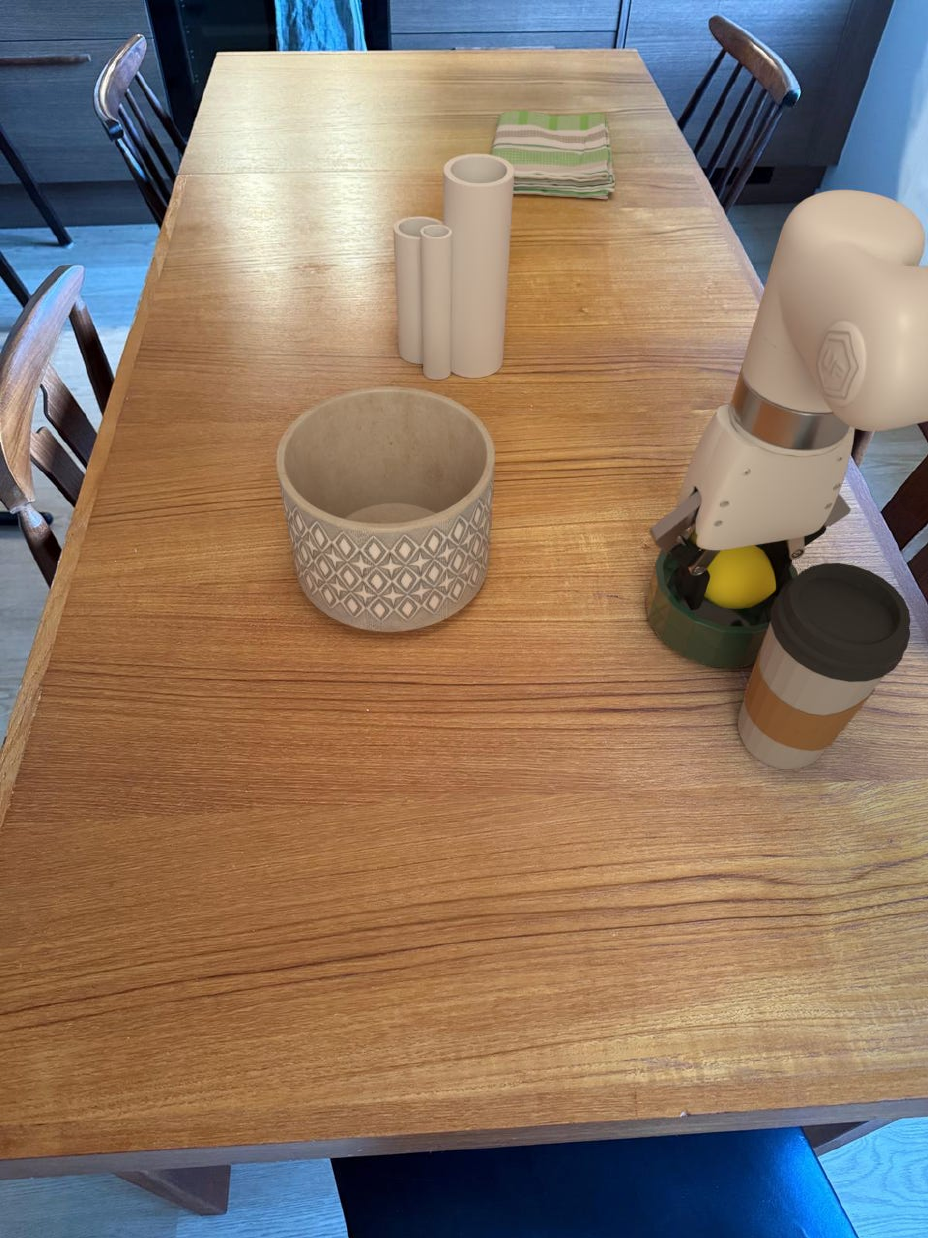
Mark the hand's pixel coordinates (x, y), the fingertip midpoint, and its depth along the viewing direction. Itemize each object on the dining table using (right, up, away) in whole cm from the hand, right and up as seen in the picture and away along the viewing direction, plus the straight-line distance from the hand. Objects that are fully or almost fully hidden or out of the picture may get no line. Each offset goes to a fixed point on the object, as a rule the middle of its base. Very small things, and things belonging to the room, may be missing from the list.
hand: (726, 588), depth 71 cm
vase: (-22, +25, +26) cm, 42 cm away
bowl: (0, -2, +3) cm, 4 cm away
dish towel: (-8, +62, +56) cm, 85 cm away
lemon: (0, -1, +1) cm, 1 cm away
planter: (-27, +2, +6) cm, 28 cm away
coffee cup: (+3, -11, -4) cm, 12 cm away
